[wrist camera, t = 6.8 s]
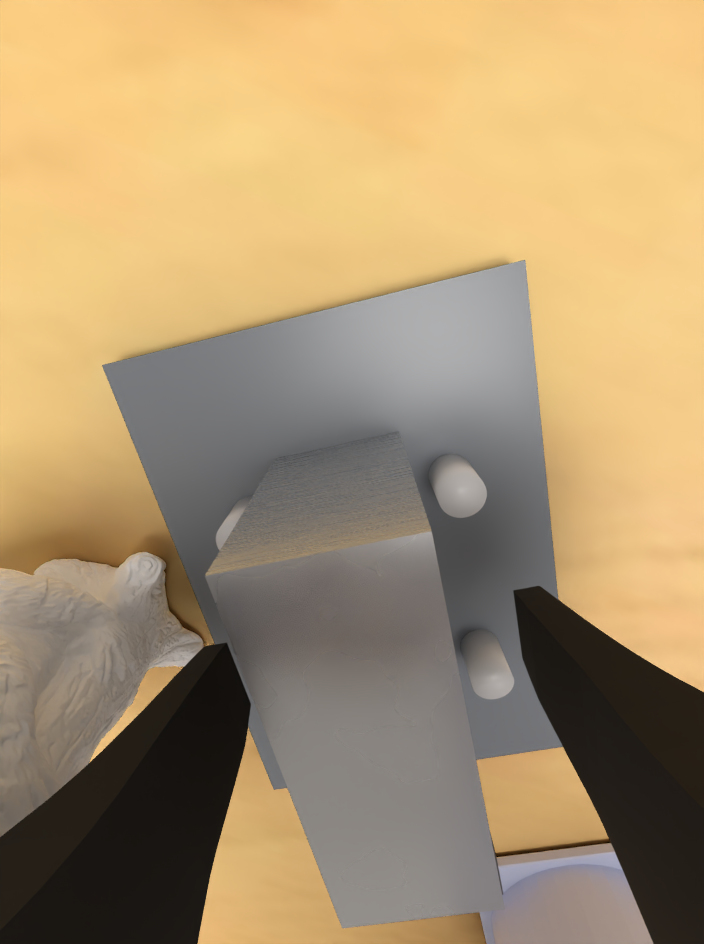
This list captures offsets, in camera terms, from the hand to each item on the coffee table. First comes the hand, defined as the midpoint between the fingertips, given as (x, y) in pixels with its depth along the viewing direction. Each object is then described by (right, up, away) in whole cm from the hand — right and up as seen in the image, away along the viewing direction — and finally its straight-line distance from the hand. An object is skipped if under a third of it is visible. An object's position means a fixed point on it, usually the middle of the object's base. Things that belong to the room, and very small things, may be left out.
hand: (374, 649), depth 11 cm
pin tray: (0, +1, +4) cm, 4 cm away
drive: (0, +1, +3) cm, 3 cm away
